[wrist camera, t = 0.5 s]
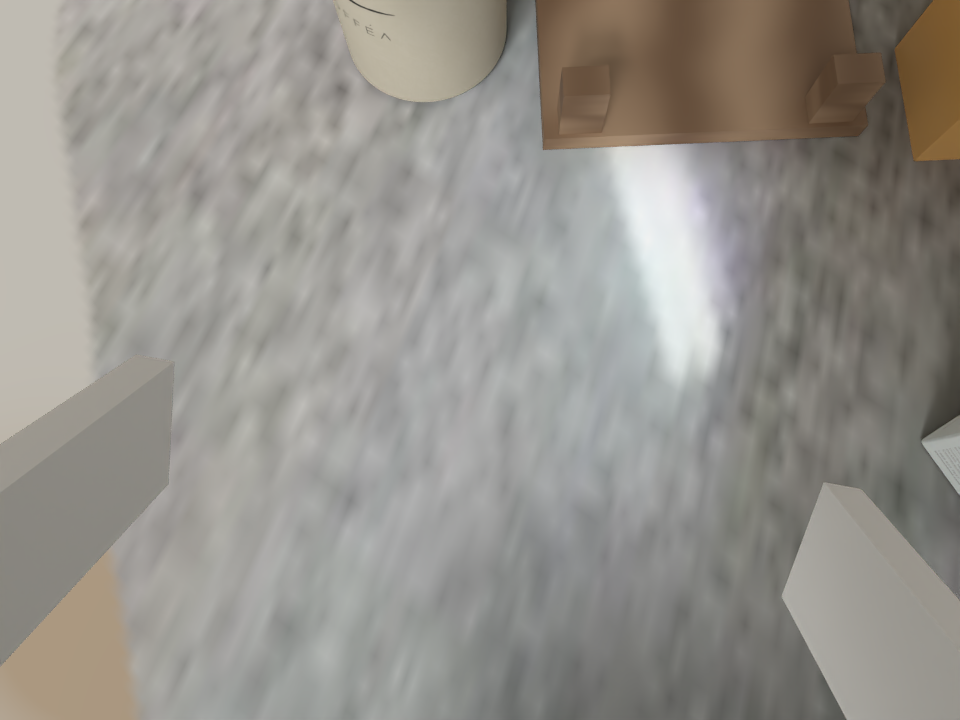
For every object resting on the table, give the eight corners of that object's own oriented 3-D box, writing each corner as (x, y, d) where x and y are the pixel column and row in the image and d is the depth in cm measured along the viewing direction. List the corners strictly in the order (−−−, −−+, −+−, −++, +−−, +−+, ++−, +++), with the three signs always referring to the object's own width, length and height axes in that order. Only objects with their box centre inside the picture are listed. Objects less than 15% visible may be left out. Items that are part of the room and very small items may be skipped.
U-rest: (827, -64, 39) (865, -135, 34) (858, 135, 36) (903, 85, 32) (532, -49, 39) (535, -117, 35) (543, 149, 37) (547, 101, 32)
